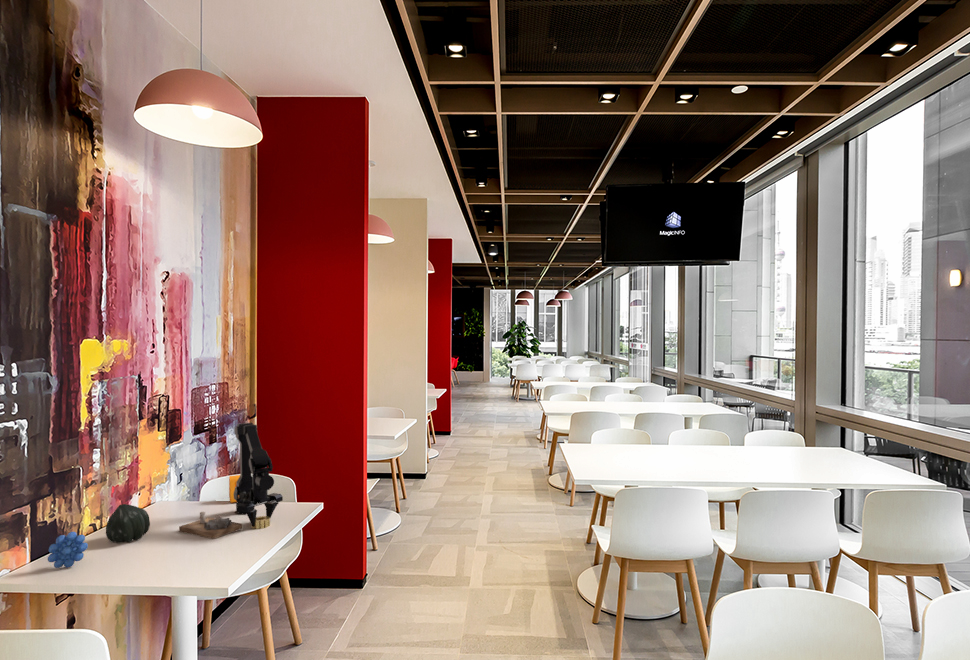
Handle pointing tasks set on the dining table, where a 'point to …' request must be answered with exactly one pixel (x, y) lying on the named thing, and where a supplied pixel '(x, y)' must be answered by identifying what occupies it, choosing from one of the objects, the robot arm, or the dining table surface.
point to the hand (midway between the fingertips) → (260, 523)
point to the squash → (127, 524)
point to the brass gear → (261, 522)
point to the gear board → (209, 533)
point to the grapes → (67, 550)
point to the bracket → (232, 487)
